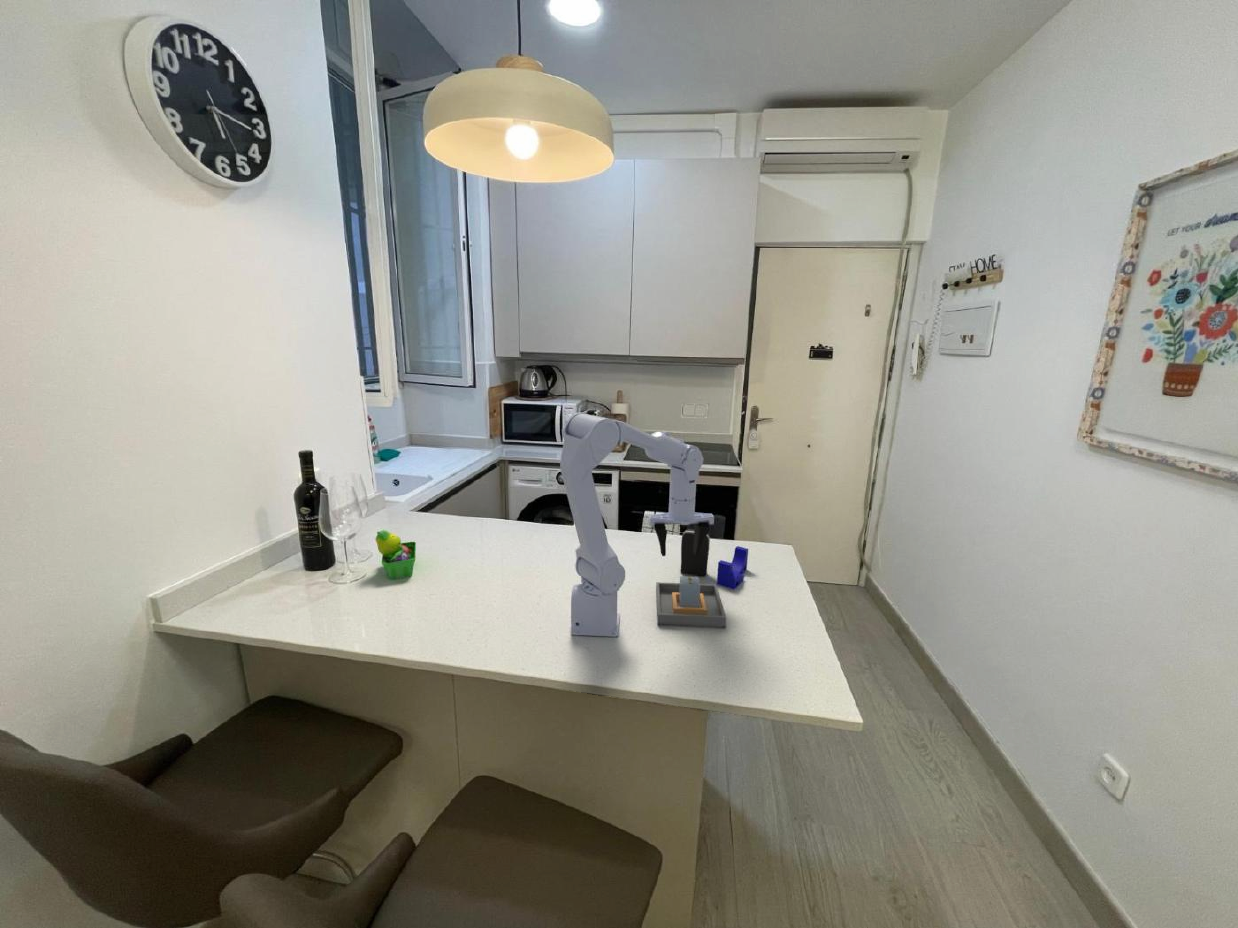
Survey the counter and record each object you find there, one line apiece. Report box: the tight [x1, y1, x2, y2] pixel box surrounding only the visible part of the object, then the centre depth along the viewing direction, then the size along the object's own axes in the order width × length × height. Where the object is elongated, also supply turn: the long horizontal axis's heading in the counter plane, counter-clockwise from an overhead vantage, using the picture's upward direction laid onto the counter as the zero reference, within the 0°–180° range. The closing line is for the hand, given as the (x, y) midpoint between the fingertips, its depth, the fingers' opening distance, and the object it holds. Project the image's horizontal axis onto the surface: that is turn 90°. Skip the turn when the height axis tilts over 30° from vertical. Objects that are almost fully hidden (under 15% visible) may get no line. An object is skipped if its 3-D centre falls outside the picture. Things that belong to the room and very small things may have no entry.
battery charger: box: [679, 528, 711, 577], centre depth 125 cm, size 7×4×11 cm, turn 73°
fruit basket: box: [375, 529, 417, 580], centre depth 124 cm, size 11×9×11 cm
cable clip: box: [716, 545, 749, 590], centre depth 123 cm, size 12×4×6 cm, turn 145°
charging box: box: [655, 581, 727, 629], centre depth 109 cm, size 14×14×2 cm
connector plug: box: [679, 575, 701, 608], centre depth 108 cm, size 4×4×7 cm
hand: (679, 553), depth 113 cm, fingers open, 7 cm apart
